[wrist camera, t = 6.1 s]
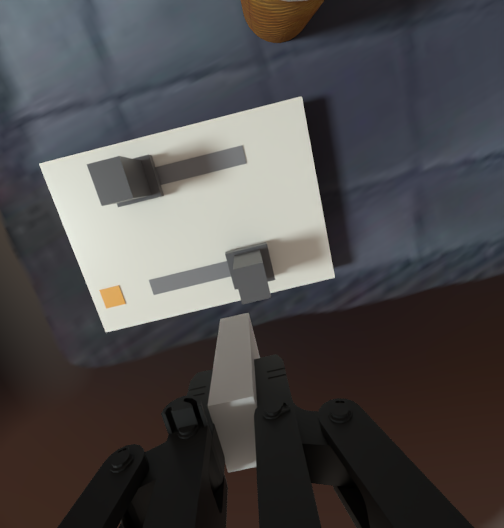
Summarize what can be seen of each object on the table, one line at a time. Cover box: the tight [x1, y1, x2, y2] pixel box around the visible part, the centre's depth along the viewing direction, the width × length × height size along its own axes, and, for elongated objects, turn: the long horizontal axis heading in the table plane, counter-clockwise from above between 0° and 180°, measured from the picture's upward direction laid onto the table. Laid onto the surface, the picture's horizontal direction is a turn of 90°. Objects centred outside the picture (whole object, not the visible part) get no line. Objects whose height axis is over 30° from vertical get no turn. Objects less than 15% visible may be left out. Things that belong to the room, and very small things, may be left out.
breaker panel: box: [39, 96, 335, 332], centre depth 32 cm, size 24×17×3 cm
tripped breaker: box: [225, 242, 275, 304], centre depth 28 cm, size 4×4×6 cm
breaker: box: [87, 155, 164, 207], centre depth 26 cm, size 4×4×6 cm
